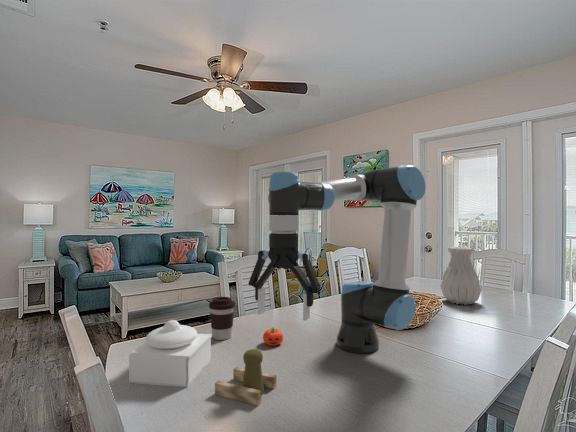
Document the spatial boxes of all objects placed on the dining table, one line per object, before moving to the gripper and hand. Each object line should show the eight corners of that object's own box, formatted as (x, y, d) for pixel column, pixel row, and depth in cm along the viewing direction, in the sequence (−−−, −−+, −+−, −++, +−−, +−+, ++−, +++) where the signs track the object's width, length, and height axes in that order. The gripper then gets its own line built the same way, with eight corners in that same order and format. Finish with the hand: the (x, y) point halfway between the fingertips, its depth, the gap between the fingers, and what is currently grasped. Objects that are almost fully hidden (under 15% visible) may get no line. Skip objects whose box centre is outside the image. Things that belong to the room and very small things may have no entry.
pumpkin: (286, 344, 126) (288, 328, 125) (271, 350, 120) (273, 333, 120) (273, 337, 131) (274, 321, 130) (257, 343, 125) (259, 326, 124)
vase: (446, 306, 177) (446, 249, 177) (436, 297, 197) (436, 245, 197) (487, 308, 174) (488, 250, 174) (473, 298, 194) (473, 246, 194)
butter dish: (160, 357, 113) (160, 310, 113) (212, 361, 111) (212, 312, 110) (128, 383, 96) (128, 327, 96) (189, 388, 93) (189, 330, 93)
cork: (242, 386, 94) (242, 346, 94) (264, 385, 94) (264, 346, 94) (241, 398, 88) (241, 356, 88) (264, 397, 88) (264, 355, 88)
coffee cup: (229, 342, 126) (229, 302, 126) (204, 340, 128) (204, 301, 128) (238, 333, 136) (238, 296, 136) (215, 331, 138) (215, 295, 138)
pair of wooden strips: (276, 386, 94) (276, 375, 94) (258, 405, 84) (258, 393, 84) (236, 377, 99) (236, 366, 99) (214, 394, 90) (215, 383, 90)
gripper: (333, 232, 86) (332, 317, 86) (250, 230, 96) (249, 307, 96) (324, 234, 79) (323, 326, 79) (235, 231, 89) (235, 314, 89)
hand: (283, 316), depth 88 cm, fingers open, 12 cm apart
